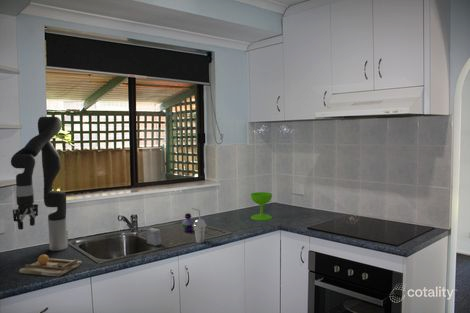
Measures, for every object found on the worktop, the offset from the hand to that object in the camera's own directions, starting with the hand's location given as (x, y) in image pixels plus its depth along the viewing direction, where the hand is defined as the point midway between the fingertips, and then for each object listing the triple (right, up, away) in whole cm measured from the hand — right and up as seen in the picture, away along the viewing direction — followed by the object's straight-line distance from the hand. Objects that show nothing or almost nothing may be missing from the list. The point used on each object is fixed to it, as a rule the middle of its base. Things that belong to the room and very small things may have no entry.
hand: (26, 227), depth 194 cm
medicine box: (+56, -17, +37) cm, 69 cm away
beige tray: (+13, -20, -2) cm, 24 cm away
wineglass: (+124, -11, +99) cm, 159 cm away
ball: (+9, -16, -1) cm, 18 cm away
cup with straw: (+82, -16, +40) cm, 93 cm away
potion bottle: (+73, -14, +63) cm, 97 cm away
